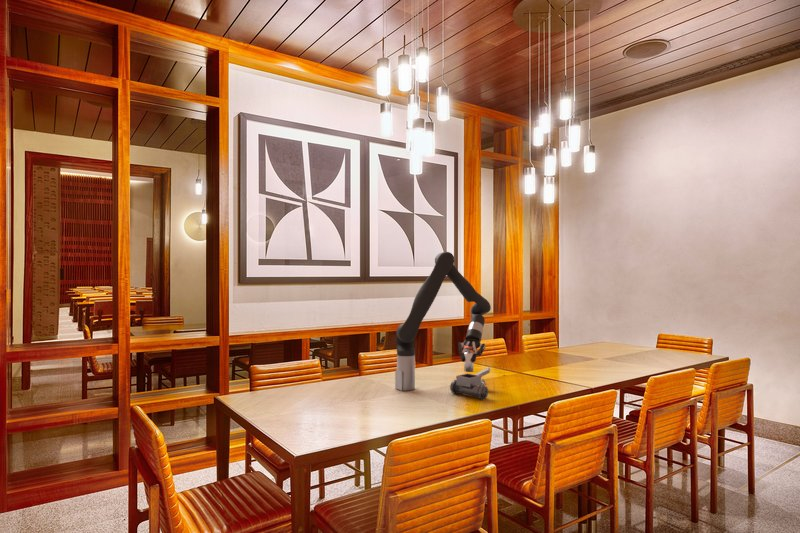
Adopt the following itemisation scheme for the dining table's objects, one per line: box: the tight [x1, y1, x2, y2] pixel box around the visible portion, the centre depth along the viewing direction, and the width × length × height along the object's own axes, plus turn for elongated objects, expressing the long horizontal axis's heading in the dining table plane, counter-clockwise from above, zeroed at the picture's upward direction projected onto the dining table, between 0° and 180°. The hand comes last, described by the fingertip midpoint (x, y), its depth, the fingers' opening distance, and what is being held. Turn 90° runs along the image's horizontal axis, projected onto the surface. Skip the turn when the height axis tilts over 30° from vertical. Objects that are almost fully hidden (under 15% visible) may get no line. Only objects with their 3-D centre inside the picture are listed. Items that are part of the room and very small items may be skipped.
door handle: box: [474, 366, 491, 386], centre depth 257 cm, size 18×8×20 cm
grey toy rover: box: [449, 372, 489, 401], centre depth 237 cm, size 18×8×10 cm, turn 43°
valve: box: [463, 345, 475, 373], centre depth 238 cm, size 4×4×12 cm
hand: (467, 361), depth 236 cm, fingers closed on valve, 4 cm apart
